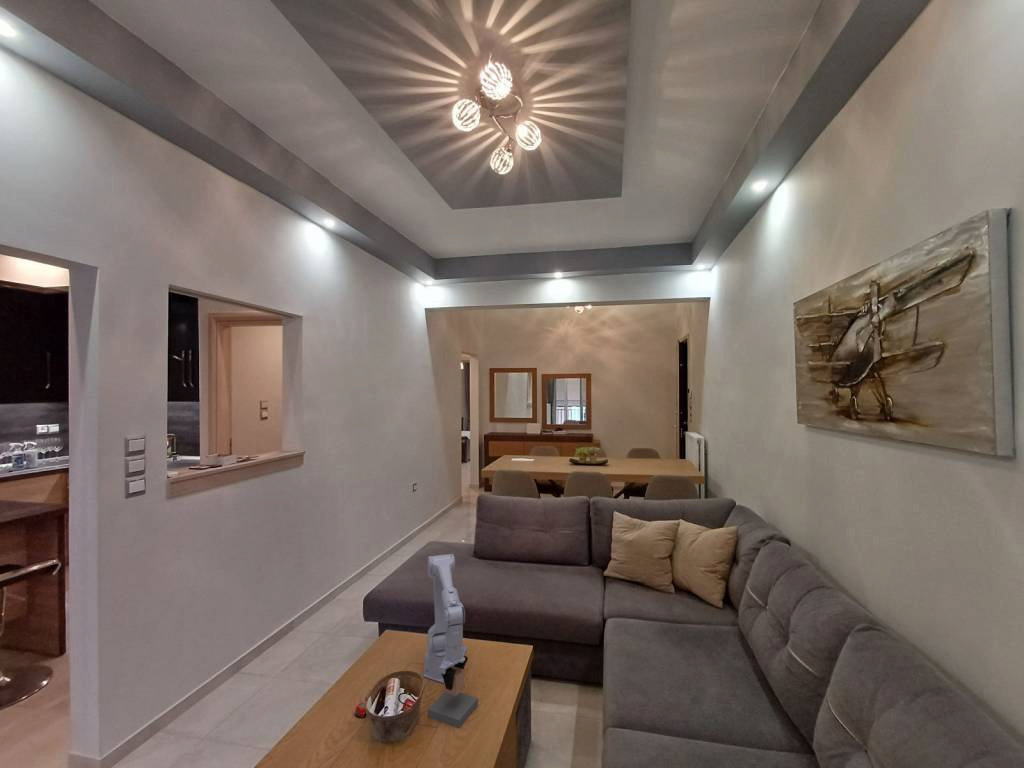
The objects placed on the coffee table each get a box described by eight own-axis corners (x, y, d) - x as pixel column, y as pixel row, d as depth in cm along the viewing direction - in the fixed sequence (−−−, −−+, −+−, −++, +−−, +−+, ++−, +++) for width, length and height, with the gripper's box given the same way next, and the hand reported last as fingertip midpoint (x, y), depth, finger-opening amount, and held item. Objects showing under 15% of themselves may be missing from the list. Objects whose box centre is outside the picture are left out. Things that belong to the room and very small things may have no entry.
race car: (359, 722, 154) (359, 709, 154) (351, 713, 158) (352, 701, 158) (395, 703, 164) (395, 691, 164) (387, 695, 167) (387, 684, 167)
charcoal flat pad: (427, 718, 156) (427, 709, 156) (447, 697, 167) (447, 688, 167) (459, 729, 151) (459, 720, 151) (477, 707, 162) (477, 698, 162)
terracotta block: (443, 691, 158) (443, 673, 158) (451, 683, 163) (451, 665, 163) (456, 696, 156) (456, 677, 156) (464, 687, 160) (464, 669, 160)
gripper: (452, 656, 151) (451, 700, 151) (475, 635, 164) (474, 675, 164) (433, 651, 154) (433, 693, 154) (457, 631, 167) (457, 670, 167)
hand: (453, 684), depth 159 cm, fingers closed on terracotta block, 5 cm apart
